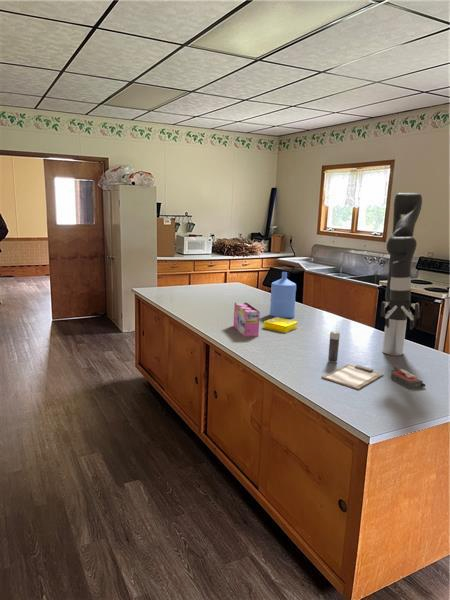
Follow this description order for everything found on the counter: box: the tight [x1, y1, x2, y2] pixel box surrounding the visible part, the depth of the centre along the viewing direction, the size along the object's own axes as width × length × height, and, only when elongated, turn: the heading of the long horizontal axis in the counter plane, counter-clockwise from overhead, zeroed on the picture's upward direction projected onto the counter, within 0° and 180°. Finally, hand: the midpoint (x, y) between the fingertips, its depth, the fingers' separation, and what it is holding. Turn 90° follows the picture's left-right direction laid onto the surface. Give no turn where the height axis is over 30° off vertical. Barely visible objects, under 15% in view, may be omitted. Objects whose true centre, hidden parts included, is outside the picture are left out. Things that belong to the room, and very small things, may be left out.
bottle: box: [327, 330, 341, 364], centre depth 193 cm, size 4×4×14 cm
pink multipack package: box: [233, 302, 261, 338], centre depth 240 cm, size 24×8×14 cm, turn 15°
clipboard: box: [320, 363, 385, 391], centre depth 177 cm, size 22×16×2 cm
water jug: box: [269, 271, 297, 319], centre depth 275 cm, size 16×16×28 cm
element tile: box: [263, 317, 298, 334], centre depth 248 cm, size 15×15×5 cm
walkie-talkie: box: [390, 366, 426, 390], centre depth 176 cm, size 9×4×20 cm
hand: (399, 328), depth 174 cm, fingers open, 8 cm apart
